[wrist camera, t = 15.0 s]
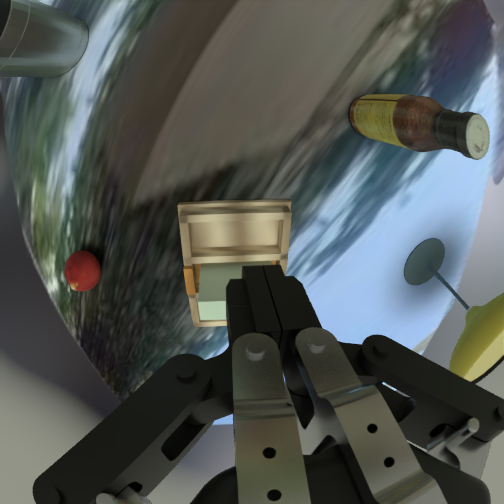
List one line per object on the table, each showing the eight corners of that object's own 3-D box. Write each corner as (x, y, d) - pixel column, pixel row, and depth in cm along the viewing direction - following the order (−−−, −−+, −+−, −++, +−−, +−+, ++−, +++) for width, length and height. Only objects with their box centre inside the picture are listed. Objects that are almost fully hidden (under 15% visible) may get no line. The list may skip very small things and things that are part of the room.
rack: (192, 314, 46) (191, 332, 42) (178, 202, 35) (173, 214, 32) (279, 309, 47) (283, 327, 43) (289, 199, 37) (297, 211, 33)
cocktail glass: (448, 281, 51) (511, 356, 29) (386, 309, 51) (444, 405, 30) (459, 211, 41) (549, 284, 20) (389, 235, 42) (484, 340, 21)
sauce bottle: (365, 145, 34) (469, 193, 17) (338, 112, 31) (443, 134, 14) (393, 117, 32) (502, 148, 15) (368, 84, 29) (480, 90, 12)
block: (202, 277, 40) (200, 320, 33) (201, 260, 39) (197, 301, 31) (269, 275, 41) (280, 316, 34) (270, 258, 40) (283, 297, 32)
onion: (80, 272, 39) (61, 303, 32) (72, 241, 36) (49, 270, 29) (110, 273, 40) (94, 305, 33) (103, 241, 37) (83, 271, 30)
